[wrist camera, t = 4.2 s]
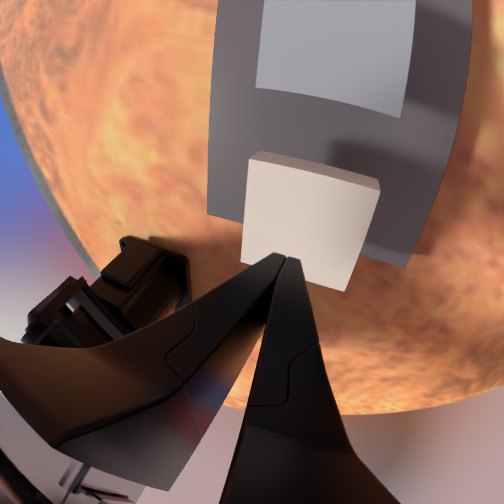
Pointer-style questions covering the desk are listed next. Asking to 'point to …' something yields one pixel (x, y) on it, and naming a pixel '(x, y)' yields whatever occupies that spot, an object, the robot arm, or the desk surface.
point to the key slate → (338, 50)
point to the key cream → (307, 215)
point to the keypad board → (342, 123)
